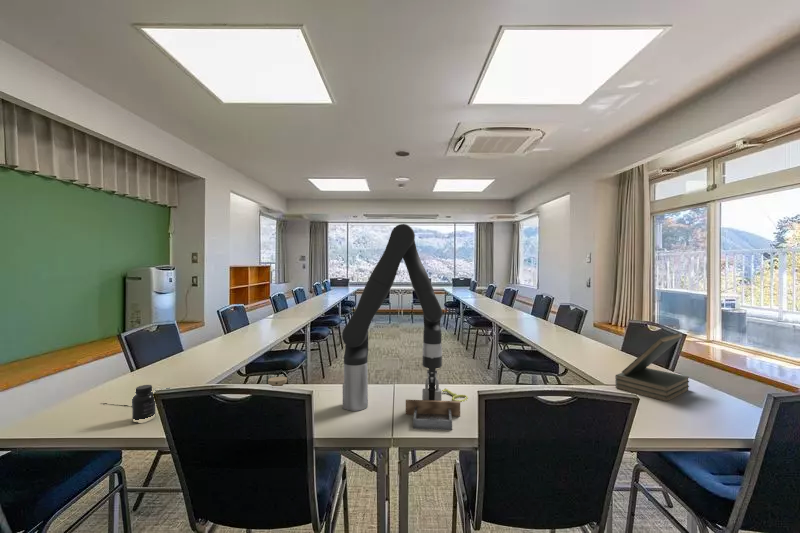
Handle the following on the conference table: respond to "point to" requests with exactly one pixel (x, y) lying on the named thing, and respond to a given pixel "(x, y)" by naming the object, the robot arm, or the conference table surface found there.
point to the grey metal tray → (432, 421)
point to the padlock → (426, 392)
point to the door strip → (432, 407)
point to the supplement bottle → (143, 403)
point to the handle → (277, 381)
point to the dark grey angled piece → (653, 374)
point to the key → (455, 395)
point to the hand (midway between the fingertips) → (431, 397)
